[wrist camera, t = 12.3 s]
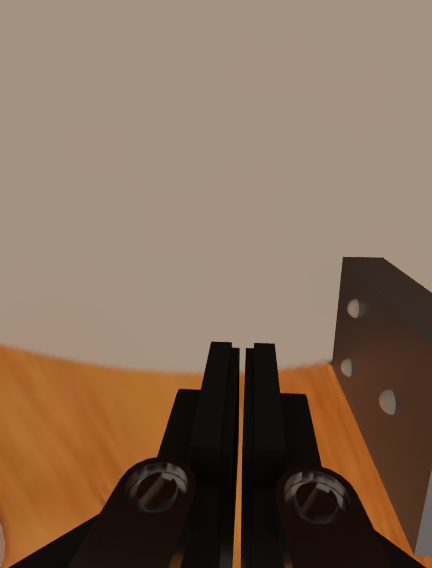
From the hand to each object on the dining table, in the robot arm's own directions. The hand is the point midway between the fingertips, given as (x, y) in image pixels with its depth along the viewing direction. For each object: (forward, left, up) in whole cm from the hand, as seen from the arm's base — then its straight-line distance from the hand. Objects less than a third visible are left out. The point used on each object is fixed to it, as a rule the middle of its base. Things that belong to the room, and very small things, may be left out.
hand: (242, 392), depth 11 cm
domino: (+5, 0, -7) cm, 9 cm away
